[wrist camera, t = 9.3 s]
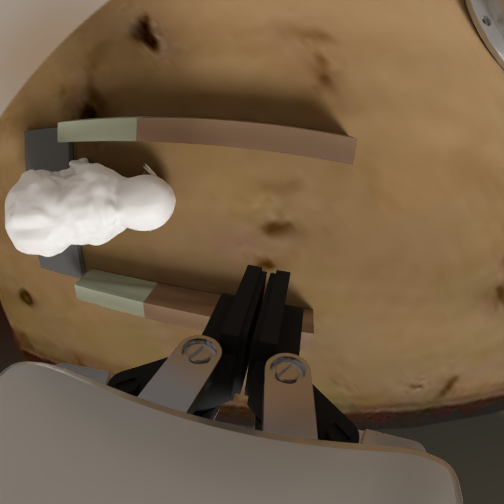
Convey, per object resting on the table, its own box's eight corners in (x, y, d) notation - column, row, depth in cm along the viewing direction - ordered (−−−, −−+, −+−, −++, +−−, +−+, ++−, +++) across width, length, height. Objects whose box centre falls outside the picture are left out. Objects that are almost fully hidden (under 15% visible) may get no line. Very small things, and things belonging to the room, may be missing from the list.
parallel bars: (81, 119, 20) (57, 122, 17) (348, 135, 18) (356, 138, 15) (94, 282, 26) (77, 298, 24) (309, 324, 25) (309, 348, 22)
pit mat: (29, 130, 21) (24, 131, 20) (73, 125, 20) (68, 126, 20) (44, 264, 27) (41, 267, 26) (85, 275, 26) (82, 278, 26)
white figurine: (-14, 184, 14) (138, 170, 13) (55, 157, 21) (184, 148, 21) (5, 270, 16) (150, 287, 16) (64, 226, 24) (187, 229, 24)
